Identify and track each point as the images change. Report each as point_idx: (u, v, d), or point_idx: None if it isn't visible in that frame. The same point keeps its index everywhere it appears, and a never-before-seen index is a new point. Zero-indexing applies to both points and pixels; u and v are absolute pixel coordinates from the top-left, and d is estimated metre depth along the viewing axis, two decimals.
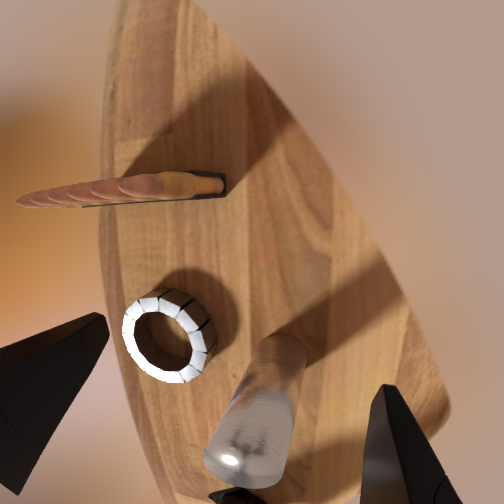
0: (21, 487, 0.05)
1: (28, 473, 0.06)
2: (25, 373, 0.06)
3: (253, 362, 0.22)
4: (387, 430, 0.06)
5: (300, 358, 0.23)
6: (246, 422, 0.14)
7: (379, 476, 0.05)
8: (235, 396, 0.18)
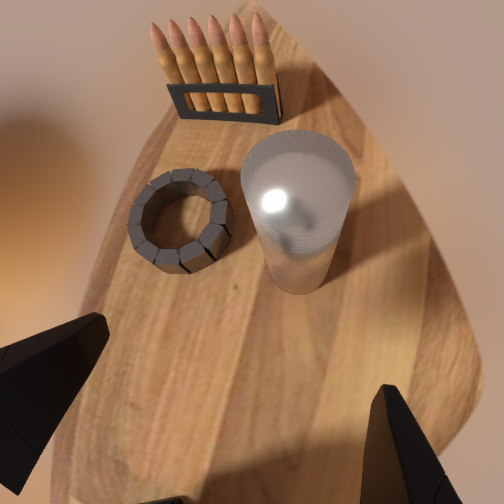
0: (21, 487, 0.05)
1: (28, 473, 0.06)
2: (25, 373, 0.06)
3: None
4: (387, 430, 0.06)
5: None
6: None
7: (379, 476, 0.05)
8: None
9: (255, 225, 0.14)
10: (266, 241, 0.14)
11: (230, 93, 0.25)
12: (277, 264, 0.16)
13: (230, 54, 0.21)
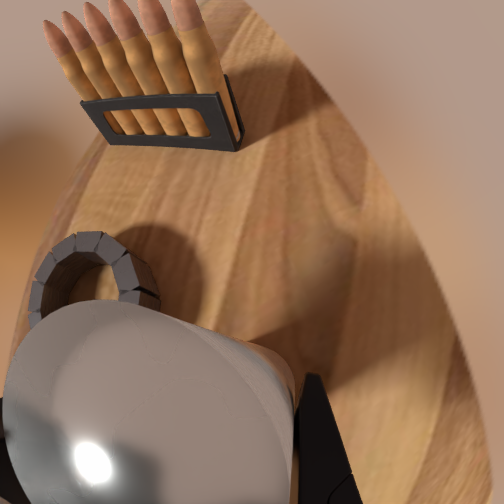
0: None
1: None
2: None
3: None
4: (298, 418, 0.06)
5: (292, 375, 0.12)
6: None
7: None
8: None
9: None
10: None
11: (160, 109, 0.16)
12: None
13: (150, 50, 0.13)
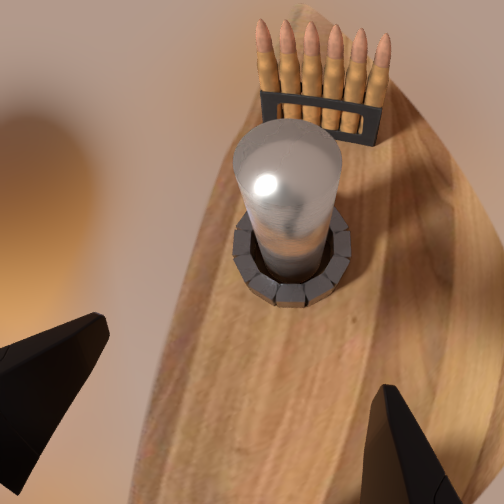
0: (21, 487, 0.05)
1: (28, 473, 0.06)
2: (25, 373, 0.06)
3: None
4: (387, 430, 0.06)
5: None
6: None
7: (379, 476, 0.05)
8: None
9: (247, 209, 0.14)
10: (258, 225, 0.14)
11: (333, 110, 0.23)
12: (269, 249, 0.17)
13: None
